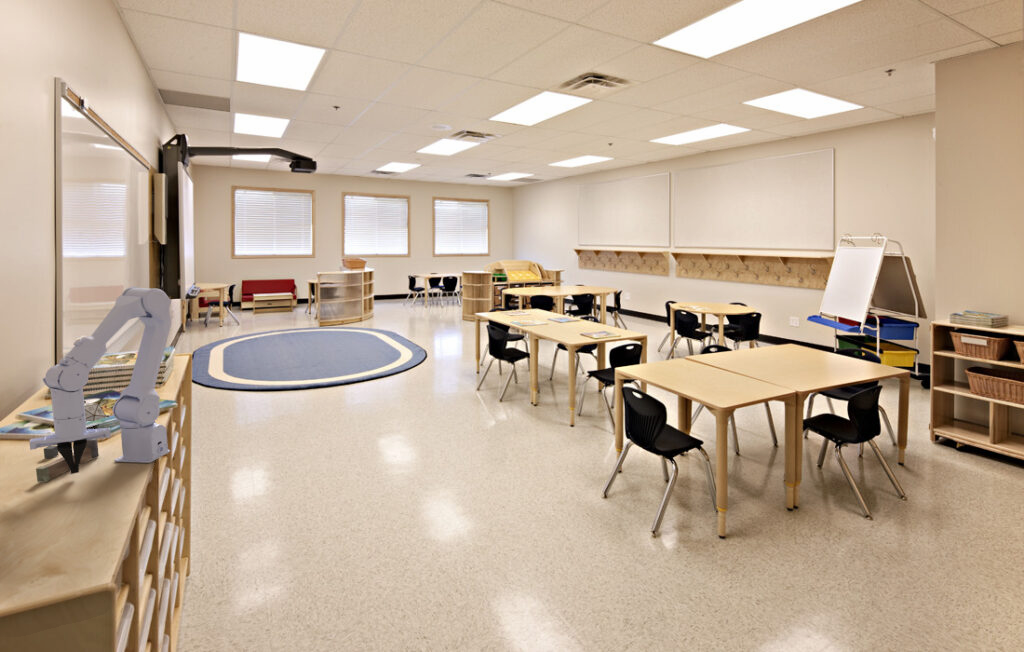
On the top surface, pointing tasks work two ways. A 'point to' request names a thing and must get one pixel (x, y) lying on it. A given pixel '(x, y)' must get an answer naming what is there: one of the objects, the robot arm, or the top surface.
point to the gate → (61, 465)
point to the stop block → (50, 452)
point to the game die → (93, 411)
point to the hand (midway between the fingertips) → (75, 471)
